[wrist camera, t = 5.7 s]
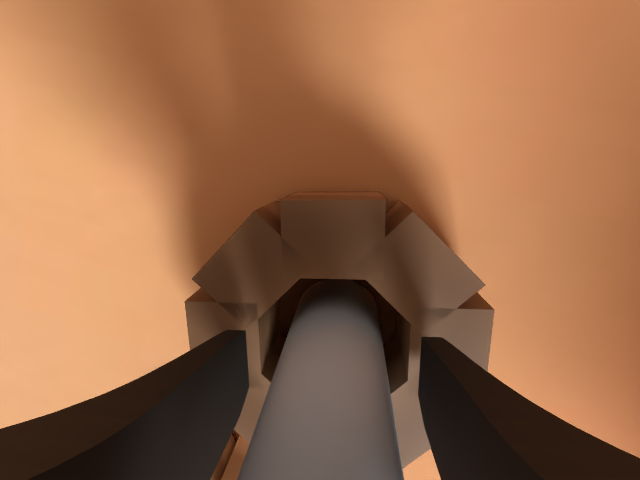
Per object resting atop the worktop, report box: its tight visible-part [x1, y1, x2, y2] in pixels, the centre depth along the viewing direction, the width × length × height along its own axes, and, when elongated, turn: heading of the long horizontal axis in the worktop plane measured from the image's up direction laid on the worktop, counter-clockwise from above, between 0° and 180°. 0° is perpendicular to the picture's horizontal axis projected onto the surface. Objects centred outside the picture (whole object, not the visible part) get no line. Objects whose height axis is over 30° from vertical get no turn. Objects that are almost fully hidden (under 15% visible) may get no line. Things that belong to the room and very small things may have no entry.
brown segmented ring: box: [185, 192, 494, 468], centre depth 12 cm, size 10×10×3 cm
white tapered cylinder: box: [237, 279, 404, 480], centre depth 10 cm, size 3×3×9 cm
